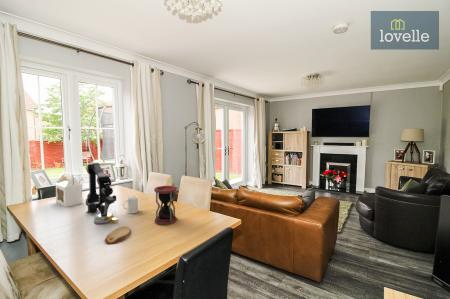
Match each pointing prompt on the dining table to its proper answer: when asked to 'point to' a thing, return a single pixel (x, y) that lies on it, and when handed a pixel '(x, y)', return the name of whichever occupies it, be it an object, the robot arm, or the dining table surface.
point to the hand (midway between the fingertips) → (104, 213)
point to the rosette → (105, 219)
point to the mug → (132, 204)
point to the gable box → (68, 190)
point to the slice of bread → (118, 235)
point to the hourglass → (165, 205)
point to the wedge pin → (104, 209)
